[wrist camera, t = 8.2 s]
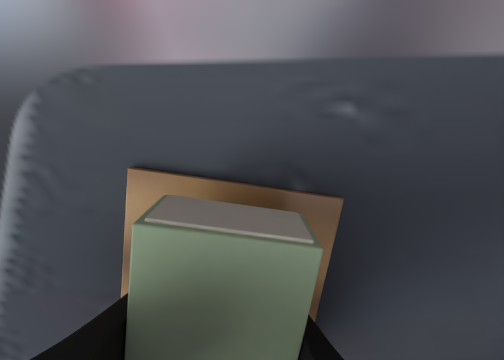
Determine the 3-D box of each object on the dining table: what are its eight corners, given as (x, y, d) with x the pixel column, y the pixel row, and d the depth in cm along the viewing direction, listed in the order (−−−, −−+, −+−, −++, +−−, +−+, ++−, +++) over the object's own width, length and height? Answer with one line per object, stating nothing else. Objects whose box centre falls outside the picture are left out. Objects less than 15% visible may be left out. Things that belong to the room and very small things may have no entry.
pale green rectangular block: (266, 392, 12) (272, 475, 10) (147, 380, 12) (117, 462, 9) (303, 210, 11) (325, 245, 8) (164, 191, 10) (131, 219, 7)
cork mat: (301, 365, 15) (303, 372, 15) (121, 346, 14) (117, 352, 14) (341, 196, 13) (344, 199, 12) (131, 166, 12) (127, 167, 12)
